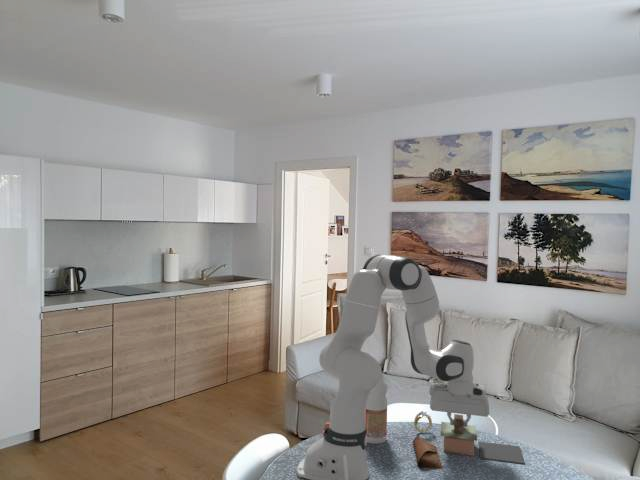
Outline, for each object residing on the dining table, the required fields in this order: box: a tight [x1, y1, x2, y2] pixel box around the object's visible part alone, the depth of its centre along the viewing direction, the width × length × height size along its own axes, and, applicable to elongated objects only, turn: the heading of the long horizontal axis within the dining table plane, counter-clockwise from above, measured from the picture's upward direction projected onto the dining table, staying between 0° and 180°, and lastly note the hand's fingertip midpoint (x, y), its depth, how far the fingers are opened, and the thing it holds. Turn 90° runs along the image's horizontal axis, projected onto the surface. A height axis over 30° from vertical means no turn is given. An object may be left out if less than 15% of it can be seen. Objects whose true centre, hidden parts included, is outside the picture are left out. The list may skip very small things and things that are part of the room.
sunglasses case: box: [412, 436, 444, 470], centre depth 168 cm, size 18×7×7 cm
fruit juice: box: [365, 361, 388, 445], centre depth 181 cm, size 9×9×28 cm
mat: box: [477, 440, 526, 465], centre depth 172 cm, size 14×14×1 cm
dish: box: [443, 436, 475, 456], centre depth 176 cm, size 10×10×5 cm
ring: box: [413, 411, 433, 434], centre depth 189 cm, size 7×3×8 cm, turn 101°
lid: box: [440, 413, 478, 441], centre depth 176 cm, size 12×12×5 cm
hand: (458, 425), depth 176 cm, fingers closed on lid, 3 cm apart
